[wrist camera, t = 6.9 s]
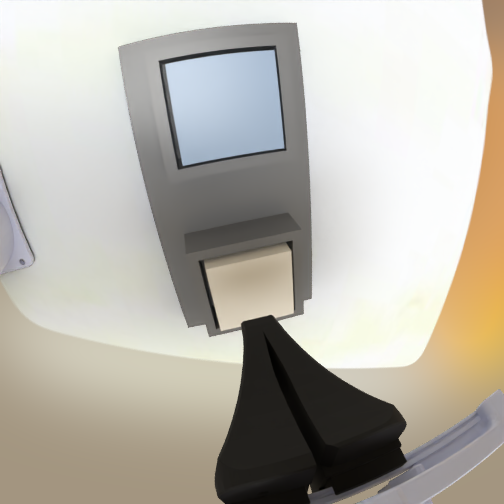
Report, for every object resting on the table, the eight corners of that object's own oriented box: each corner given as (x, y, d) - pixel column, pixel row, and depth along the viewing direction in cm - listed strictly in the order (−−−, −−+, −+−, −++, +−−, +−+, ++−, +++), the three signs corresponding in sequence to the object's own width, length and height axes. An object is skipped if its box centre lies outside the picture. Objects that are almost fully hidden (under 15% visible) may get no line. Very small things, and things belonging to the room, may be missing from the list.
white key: (216, 311, 22) (220, 330, 20) (202, 251, 19) (205, 269, 17) (284, 295, 22) (294, 313, 21) (280, 234, 20) (291, 250, 18)
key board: (187, 319, 24) (190, 351, 21) (121, 48, 13) (108, 40, 10) (307, 291, 25) (323, 318, 22) (290, 25, 15) (314, 15, 12)
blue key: (182, 156, 16) (182, 166, 14) (166, 67, 13) (165, 64, 11) (272, 140, 16) (284, 148, 15) (263, 53, 14) (274, 50, 12)
